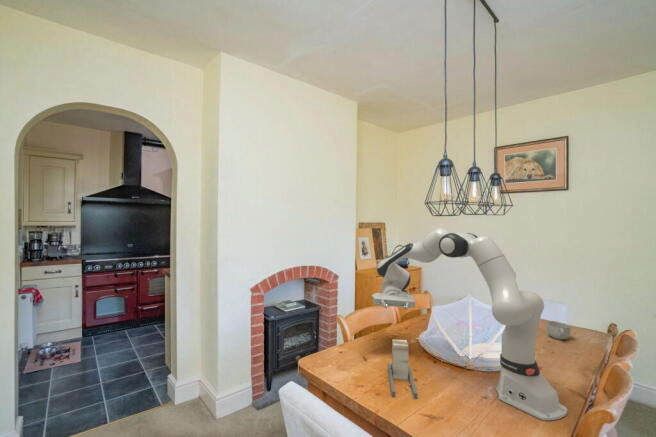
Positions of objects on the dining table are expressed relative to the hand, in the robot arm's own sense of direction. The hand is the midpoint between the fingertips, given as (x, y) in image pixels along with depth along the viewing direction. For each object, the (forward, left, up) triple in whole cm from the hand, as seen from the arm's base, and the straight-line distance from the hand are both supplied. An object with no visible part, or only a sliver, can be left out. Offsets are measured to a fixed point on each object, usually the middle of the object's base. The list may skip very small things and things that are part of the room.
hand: (395, 307), depth 146 cm
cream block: (-13, +7, -24) cm, 29 cm away
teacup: (-11, -102, -26) cm, 105 cm away
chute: (-17, +9, -25) cm, 32 cm away
